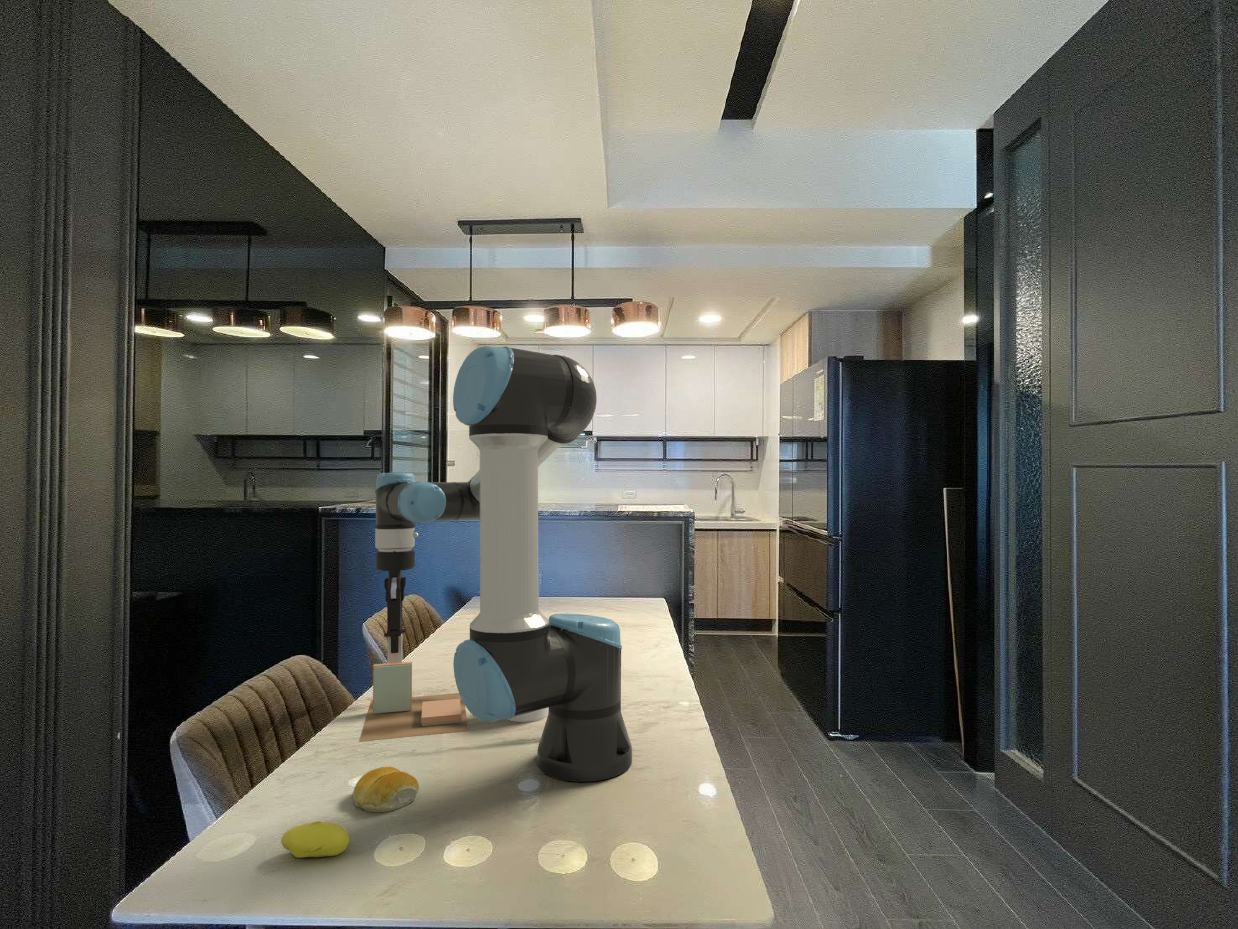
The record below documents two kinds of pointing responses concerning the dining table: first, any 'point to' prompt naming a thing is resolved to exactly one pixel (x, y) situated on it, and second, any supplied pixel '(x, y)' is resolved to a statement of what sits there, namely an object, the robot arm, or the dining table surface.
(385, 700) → the tile
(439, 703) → the tile
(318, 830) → the lemon
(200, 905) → the dining table surface
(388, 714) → the board
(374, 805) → the bread roll
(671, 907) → the dining table surface
